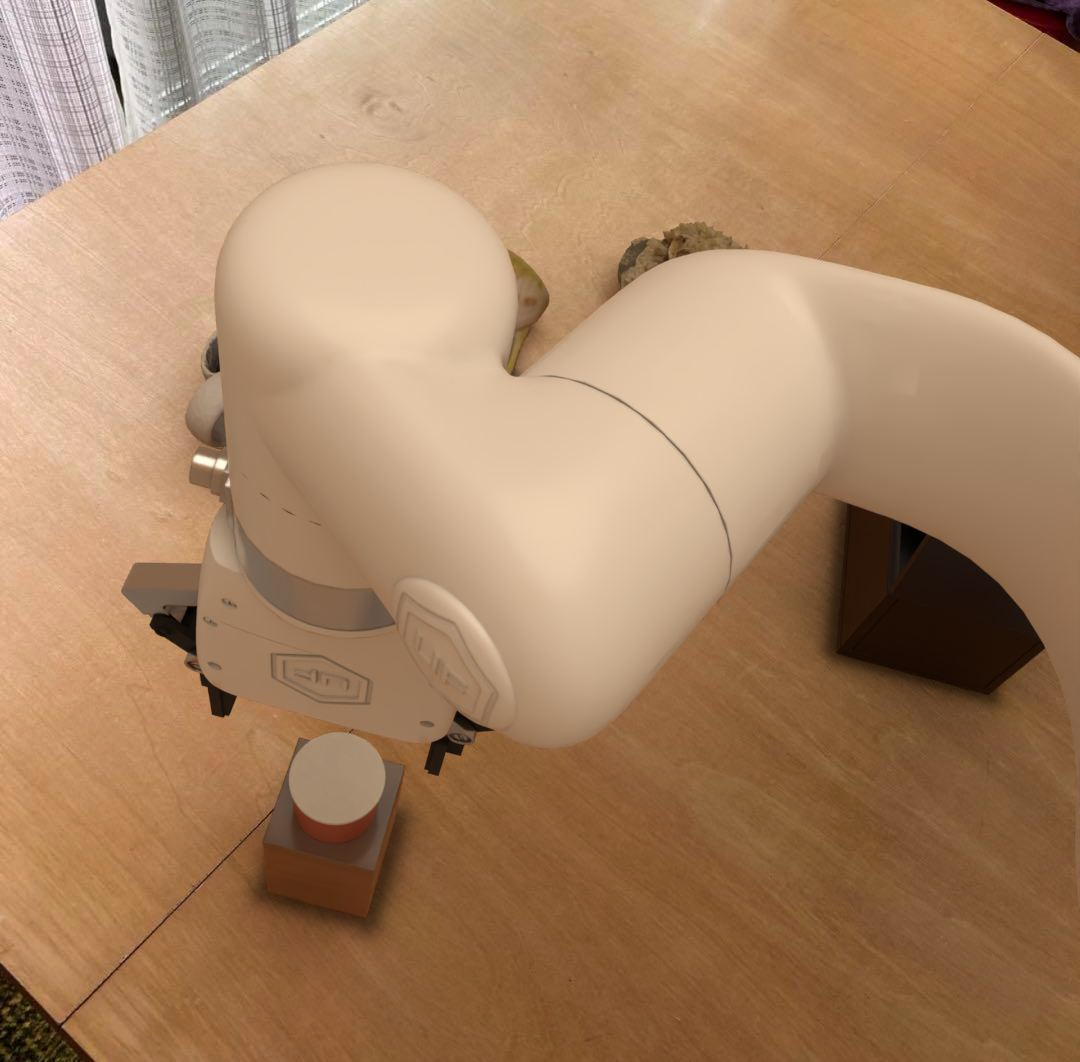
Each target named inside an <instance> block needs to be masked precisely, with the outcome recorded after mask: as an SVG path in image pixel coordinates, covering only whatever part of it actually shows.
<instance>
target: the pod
mask: <svg viewBox="0 0 1080 1062" xmlns="http://www.w3.org/2000/svg"><path fill="white" fill-rule="evenodd" d="M310 740H311V741H309V742H308V743H307V744H305V745H304V746H303V747H302V748H301V749H300V750H299V752H298V753H297V754H296V756H295V758H294V760H293V762H292V764H291V768H290V772H289V788H290V793H291V796H292V798H293V800H294V813H295V816H296V819H297V821H298V823H299V825H300V826H301V828H302V829H303V830H304V831H305V832H306V833H307V834H308V835H310V836H311V837H313V838H314V839H316V840H319V841H322V842H326V843H343V842H347V841H350V840H352V839H354V838H356V837H358V836H359V835H361V834H362V833H363V832H364V831H365V830H366V829H367V828H368V827H369V826H370V824H371V823H372V821H373V819H374V817H375V814H376V811H377V806H378V802H379V800H380V798H381V796H382V793H383V791H384V786H385V779H386V776H385V767H384V764H383V761H382V757H381V755H380V753H379V751H378V750H377V749H376V748H375V747H374V746H373V744H371V743H370V742H369V741H368V740H366V739H364V738H363V737H361V736H359V735H356V734H355V733H350V732H343V731H337V732H336V731H335V732H334V731H333V732H328V733H323V734H320V735H318V736H316V737H314V738H312V739H310Z"/></svg>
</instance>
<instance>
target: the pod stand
mask: <svg viewBox="0 0 1080 1062" xmlns="http://www.w3.org/2000/svg"><path fill="white" fill-rule="evenodd" d="M311 740H312V739H308V738H304V737H299V738H298V740H297V742H296V744H295V748H294V751H293V753H292V757H291V759H290V761H289V765H288V768H287V770H286V774H285V776H284V779H283V781H282V785H281V788H280V791H279V793H278V796H277V799H276V802H275V805H274V807H273V811H272V814H271V815H270V816H271V817H270V819H269V822H268V824H267V827H266V831H265V833H264V836H263V839H262V849H263V850H262V851H263V858H264V870H265V877H266V886H267V893H268V894H272V895H276V896H279V897H284V898H286V899H291V900H295V901H298V902H302V903H305V904H310V905H312V906H313V905H314V906H317V907H321V908H325V909H329V910H332V911H337V912H341V913H344V914H348V915H351V916H356V917H358V918H359V917H360V918H364V919H367V917H368V914H369V911H370V907H371V904H372V900H373V897H374V894H375V889H376V886H377V883H378V880H379V876H380V873H381V869H382V866H383V862H384V859H385V856H386V852H387V849H388V845H389V842H390V838H391V834H392V832H393V828H394V826H395V825H394V824H395V820H396V815H397V809H398V805H399V800H400V796H401V795H400V794H401V790H402V785H403V780H404V775H405V772H406V771H405V769H406V765H405V764H402V763H398V762H393V761H391V760H386V759H382V761H383V764H384V767H385V776H386V779H385V786H384V791H383V793H382V796H381V798H380V800H379V802H378V806H377V811H376V814H375V817H374V819H373V821H372V823H371V824H370V826H369V827H368V828H367V829H366V830H365V831H364V832H363V833H362V834H361V835H359V836H358V837H356V838H354V839H352V840H350V841H347V842H343V843H326V842H322V841H319V840H316V839H314V838H313V837H311V836H310V835H308V834H307V833H306V832H305V831H304V830H303V829H302V828H301V826H300V825H299V823H298V821H297V819H296V816H295V813H294V800H293V798H292V796H291V793H290V788H289V772H290V768H291V764H292V762H293V760H294V758H295V756H296V754H297V753H298V752H299V750H300V749H301V748H302V747H303V746H304V745H305V744H307V743H308V742H309V741H311Z"/></svg>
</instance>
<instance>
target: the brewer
mask: <svg viewBox="0 0 1080 1062" xmlns="http://www.w3.org/2000/svg"><path fill="white" fill-rule="evenodd" d="M845 523H846V524H845V537H844V538H845V539H844V548H843V563H842V576H841V588H840V600H839V601H840V603H839V614H838V616H839V617H838V630H837V641H836V654H838V655H842V656H846V657H849V658H853V659H856V660H861V661H864V662H868V663H871V664H874V665H879V666H883V667H886V668H889V669H893V670H897V671H901V672H905V673H909V674H911V675H915V676H919V677H923V678H926V679H930V680H934V681H937V682H940V683H941V682H942V683H945V684H949V685H952V686H955V687H959V688H963V689H967V690H970V691H974V692H977V693H980V694H984V695H991V694H992V693H994V691H996V690H997V689H998V688H999V687H1000V686H1001V685H1003V684H1004V683H1006V681H1008V680H1009V679H1010V678H1011V677H1012V676H1014V675H1015V674H1017V673H1018V672H1019V671H1020V670H1021V669H1022V668H1024V667H1025V666H1026V665H1027V664H1029V663H1030V662H1031V661H1032V660H1033V659H1035V658H1036V657H1037V656H1038V655H1039V654H1041V653H1042V652H1043V651H1044V650H1046V649H1045V646H1044V644H1043V642H1042V641H1041V639H1040V637H1036V636H1032V635H1029V634H1025V633H1021V632H1018V631H1014V630H1010V629H1007V628H1003V627H1000V626H996V625H992V624H989V623H985V622H981V621H978V620H974V619H970V618H967V617H963V616H960V615H956V614H952V613H949V612H945V611H941V610H938V609H934V608H931V607H927V606H923V605H920V604H916V603H912V602H909V601H905V600H901V599H898V598H894V597H891V594H890V587H891V586H892V584H893V583H894V582H895V580H896V579H897V577H898V576H899V574H900V573H901V571H902V570H903V568H904V567H905V565H906V564H907V562H908V561H909V560H910V558H911V557H912V555H913V554H914V552H915V551H916V549H917V548H918V546H919V545H920V543H921V542H922V540H923V539H924V538H925V536H926V535H927V534H926V533H924V532H922V531H920V530H918V529H916V528H914V527H912V526H909V525H907V524H904V523H902V522H899V521H897V520H894V519H892V518H889V517H887V516H884V515H880V514H877V513H875V512H872V511H869V510H866V509H863V508H860V507H858V506H855V505H852V504H849V503H847V511H846V521H845Z"/></svg>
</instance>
